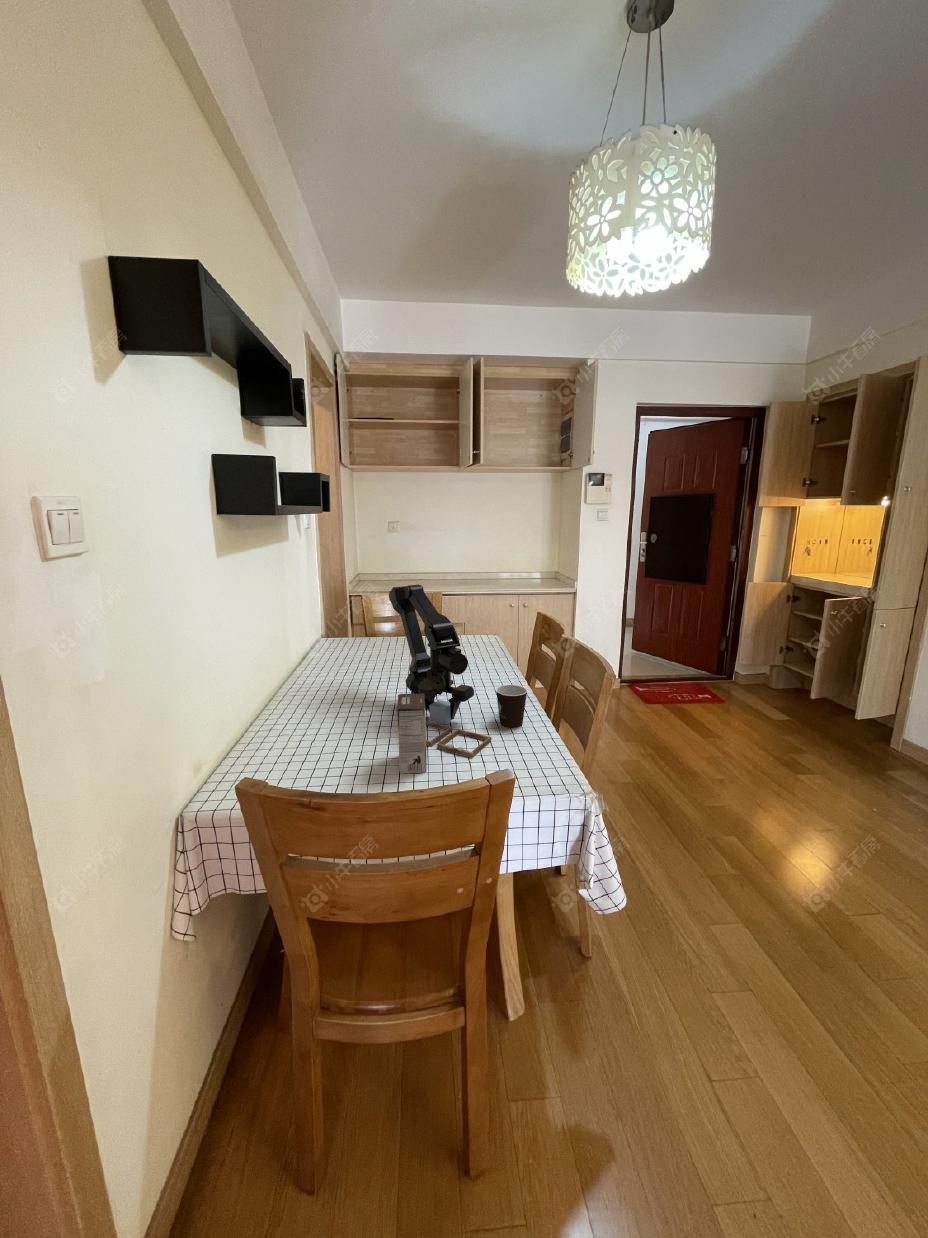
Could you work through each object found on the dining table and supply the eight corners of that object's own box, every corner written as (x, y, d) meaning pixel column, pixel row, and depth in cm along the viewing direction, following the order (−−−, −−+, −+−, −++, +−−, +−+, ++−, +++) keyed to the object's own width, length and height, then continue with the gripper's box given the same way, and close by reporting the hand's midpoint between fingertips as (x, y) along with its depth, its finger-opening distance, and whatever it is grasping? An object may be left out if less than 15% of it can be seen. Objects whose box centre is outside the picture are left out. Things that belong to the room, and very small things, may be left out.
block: (429, 721, 138) (429, 705, 137) (439, 715, 143) (438, 699, 142) (444, 725, 136) (444, 708, 135) (453, 718, 140) (453, 702, 139)
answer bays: (398, 738, 128) (398, 733, 128) (421, 723, 137) (421, 718, 137) (471, 759, 117) (471, 753, 117) (491, 741, 126) (491, 736, 126)
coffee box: (400, 755, 119) (398, 693, 116) (426, 753, 120) (424, 692, 116) (398, 774, 110) (396, 708, 107) (427, 772, 111) (425, 707, 107)
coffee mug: (525, 731, 132) (525, 696, 129) (493, 728, 133) (494, 694, 131) (528, 714, 143) (529, 682, 141) (499, 712, 144) (499, 680, 142)
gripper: (396, 667, 134) (398, 720, 137) (453, 678, 124) (454, 734, 128) (419, 657, 143) (421, 706, 146) (474, 666, 134) (475, 719, 137)
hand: (441, 716), depth 139 cm, fingers open, 7 cm apart
